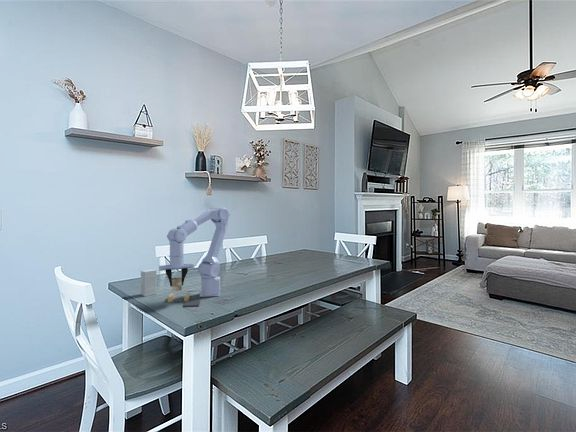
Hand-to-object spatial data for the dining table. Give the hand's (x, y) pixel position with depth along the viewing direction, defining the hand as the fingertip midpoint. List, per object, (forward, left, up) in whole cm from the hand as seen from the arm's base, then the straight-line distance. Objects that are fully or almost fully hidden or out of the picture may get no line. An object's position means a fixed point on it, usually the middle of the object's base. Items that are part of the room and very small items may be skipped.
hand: (176, 285), depth 132 cm
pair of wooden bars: (0, -6, -8) cm, 10 cm away
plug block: (0, 0, -2) cm, 2 cm away
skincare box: (+16, -16, -9) cm, 24 cm away
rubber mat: (-7, +2, -8) cm, 11 cm away
